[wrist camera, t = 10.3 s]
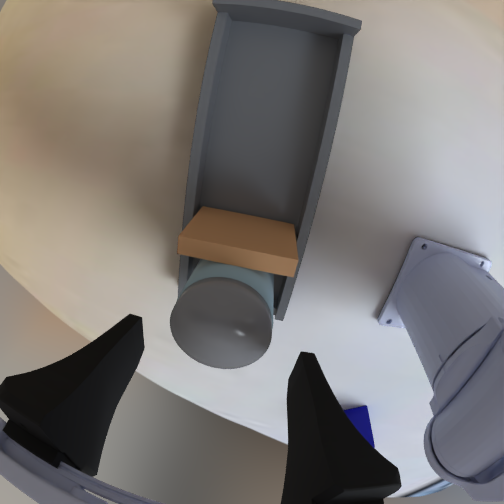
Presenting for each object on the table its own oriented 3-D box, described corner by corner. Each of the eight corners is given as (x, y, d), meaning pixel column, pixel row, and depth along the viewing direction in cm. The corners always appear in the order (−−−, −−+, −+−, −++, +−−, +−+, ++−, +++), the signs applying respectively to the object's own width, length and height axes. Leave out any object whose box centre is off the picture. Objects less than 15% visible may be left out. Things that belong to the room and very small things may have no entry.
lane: (353, 34, 13) (367, 18, 10) (285, 309, 22) (286, 338, 19) (221, 10, 13) (210, -10, 10) (181, 287, 22) (167, 313, 19)
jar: (284, 250, 19) (289, 307, 12) (259, 310, 21) (252, 379, 14) (212, 224, 19) (180, 270, 12) (193, 287, 20) (162, 350, 14)
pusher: (293, 224, 18) (298, 260, 14) (290, 238, 19) (293, 277, 14) (202, 206, 18) (178, 235, 14) (201, 220, 19) (177, 253, 14)
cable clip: (329, 411, 29) (333, 454, 23) (366, 404, 28) (374, 446, 22) (333, 449, 33) (335, 482, 28) (362, 443, 33) (367, 476, 27)
